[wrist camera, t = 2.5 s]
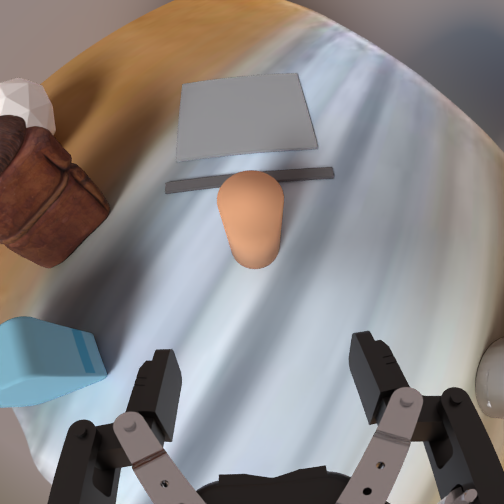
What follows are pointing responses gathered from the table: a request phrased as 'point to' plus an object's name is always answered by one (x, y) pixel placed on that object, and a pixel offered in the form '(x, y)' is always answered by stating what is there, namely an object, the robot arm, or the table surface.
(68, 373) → the data package
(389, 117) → the table surface
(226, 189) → the throwing cylinder
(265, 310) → the table surface
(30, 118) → the geometric sphere
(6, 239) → the wooden figurine
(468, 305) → the table surface
